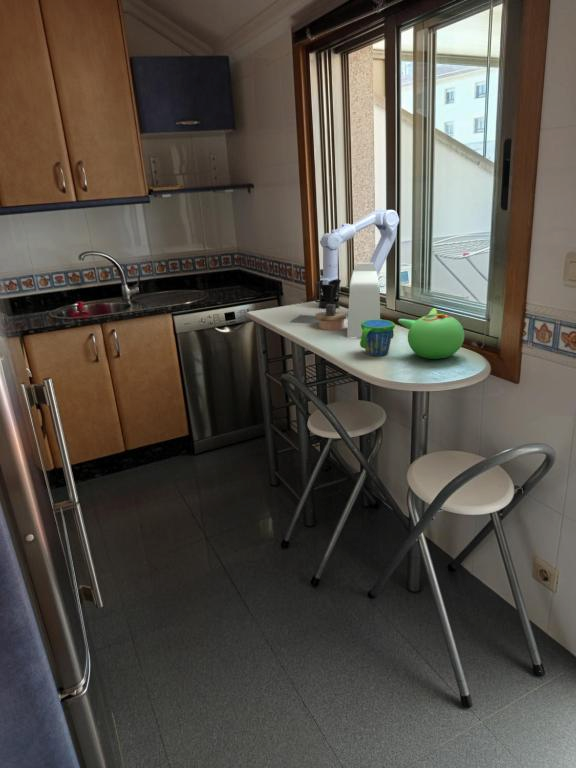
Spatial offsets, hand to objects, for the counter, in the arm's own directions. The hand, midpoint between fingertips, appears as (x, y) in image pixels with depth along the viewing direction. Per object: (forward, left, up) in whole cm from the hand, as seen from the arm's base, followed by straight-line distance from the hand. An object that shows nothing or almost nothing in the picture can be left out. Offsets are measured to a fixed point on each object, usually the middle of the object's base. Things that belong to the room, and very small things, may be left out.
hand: (330, 300), depth 214 cm
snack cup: (-26, +34, -10) cm, 44 cm away
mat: (+10, -3, -10) cm, 14 cm away
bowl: (-2, +6, -10) cm, 12 cm away
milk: (-16, +11, -10) cm, 22 cm away
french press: (+10, -29, -10) cm, 32 cm away
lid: (-2, +6, -6) cm, 9 cm away
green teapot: (-44, +33, -10) cm, 56 cm away
